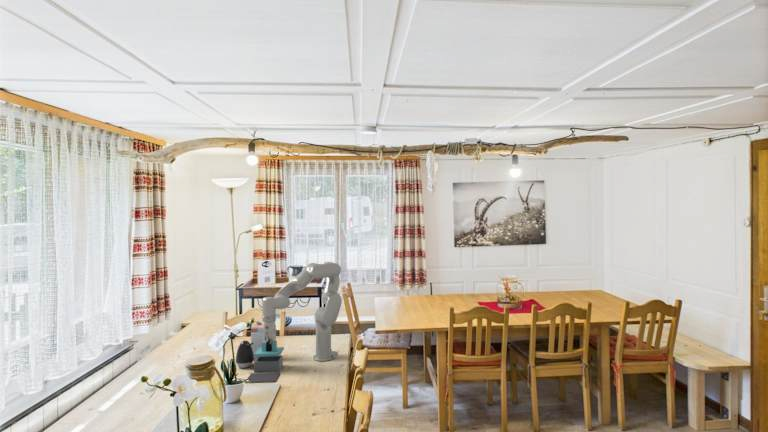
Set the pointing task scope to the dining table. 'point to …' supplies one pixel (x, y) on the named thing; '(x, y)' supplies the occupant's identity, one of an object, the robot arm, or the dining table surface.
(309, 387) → the dining table surface
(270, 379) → the mat
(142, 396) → the dining table surface
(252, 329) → the cracker box
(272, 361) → the tub
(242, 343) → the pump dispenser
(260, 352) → the lid
